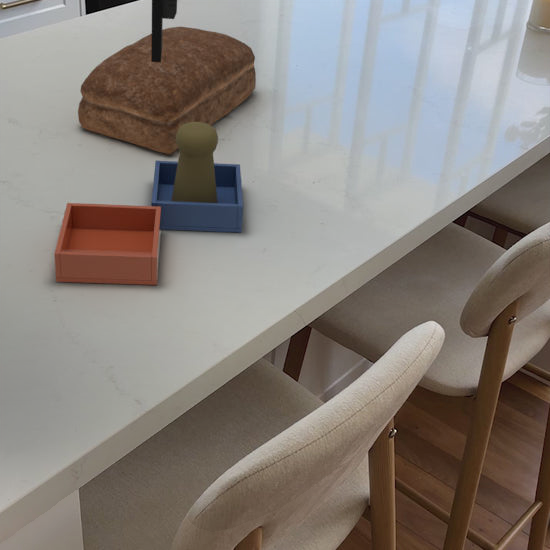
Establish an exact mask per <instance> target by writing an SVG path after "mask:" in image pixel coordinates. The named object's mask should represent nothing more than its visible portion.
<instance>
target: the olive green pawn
mask: <svg viewBox="0 0 550 550" xmlns="http://www.w3.org/2000/svg"><path fill="white" fill-rule="evenodd" d="M176 143H177V147H178V149H177V150H179V155H178V161H177V162H178V165H177V171H176V177H175V183H174V188H173V194H172V200H171V201H175V202H199V203H217V192H216V181H215V170H214V163H215V160H214V159H215V158H214V152H215V151H216V149H217V146H218V144H219V136H218V132H217V130H216V129H215V127H213V126H212V125H209V124H207V123H203V122H189V123H186V124H183V125H182V126H181V127H180V128H179V129H178V131H177V134H176Z"/></svg>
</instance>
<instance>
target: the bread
mask: <svg viewBox="0 0 550 550" xmlns="http://www.w3.org/2000/svg"><path fill="white" fill-rule="evenodd" d="M151 53H152V33H150V34H148V35H146V36H143V37H142V38H141V39H138V40H137V41H135V42H134V43H132V44H129V45H127V46H126V45H125V47H123V48H121V49H120V50H118V51H117V52H115V53H113V54H111V55H110V56H108V57H107V58H106V59H104V60H103V61H101V62H100V63H99V64H98V65H96V66H95V68H93V69H92V70H91V72H90V73H89V74H88V75H87V77H86V78H85V79H84V81H83V82H82V84H81V85H80V94H81V96H82V97H81V100H80V101H79V104H78V109H77V117H78V122H79V125H80V126H81V128H83V129H86V130H87V131H90V132H92V133H93V132H94V133H97V134H100V135H103V136H107V137H109V138H113V139H117V140H120V141H124V142H127V143H130V144H134V145H137V146H139V147H143V148H145V149H148V150H152V151H154V152H158V153H162V154H168V155H171V154H173V153H174V152H175V151H177V150H179V149H178V147H177V143H176V134H177V131H178V129H179V128H180V127H181V126H182V125H183V124H186V123H189V122H203V123H207V124H209V125H211V126H212V125H213V124H215V123H216V122H217V121H218V120H220V119H221V118H223V117H225V116H227V115H228V114H230V113H231V112H232V111H234V109H235V108H237V107H238V106H240V105H241V104H242V103H243V102H244V101H246V100H247V99H248V98H249V97H250V96H251V94H252V93H253V92H254V91H255V89H256V82H257V79H256V78H257V77H256V75H257V74H256V73H257V72H256V68H255V61H256V56H255V53H254V51H253V49H252V48H251V47H250V46H249V45H248V44H246V43H245V42H243V41H241V40H239V39H236V38H235V37H233V36H230V35H228V34H225V33H221V32H217V31H211V30H205V29H200V28H195V27H187V26H172V27H167V28H164V29H163V28H162V56H161V62H151Z"/></svg>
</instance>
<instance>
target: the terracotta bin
mask: <svg viewBox="0 0 550 550" xmlns="http://www.w3.org/2000/svg"><path fill="white" fill-rule="evenodd" d="M161 232H162V229H161V207H158V206H151V205H129V204H106V203H81V202H67V203H66V207H65V210H64V214H63V218H62V222H61V226H60V230H59V233H58V238H57V240H56V241H57V242H56V246H55V249H54V255H53V256H54V269H55V270H54V271H55V282H56V283H78V284H79V283H81V284H84V283H85V284H111V285H113V284H114V285H140V286H141V285H144V286H157V285H158V274H159V273H158V272H159V260H160V247H161V234H162V233H161Z"/></svg>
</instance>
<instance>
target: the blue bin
mask: <svg viewBox="0 0 550 550" xmlns="http://www.w3.org/2000/svg"><path fill="white" fill-rule="evenodd" d="M154 164H155V165H154V172H153V182H152V193H151V205H150V206H158V207H161V230H167V231H168V230H169V231H188V232H189V231H192V232H220V233H242V227H243V215H244V214H243V212H244V201H243V185H242V172H241V164H239V163H219V162H218V163H216V162H214V170H215V181H216V192H217V203H199V202H175V201H171V200H172V194H173V188H174V183H175V177H176V171H177V165H178V161H173V160H172V161H171V160H155V163H154Z"/></svg>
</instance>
